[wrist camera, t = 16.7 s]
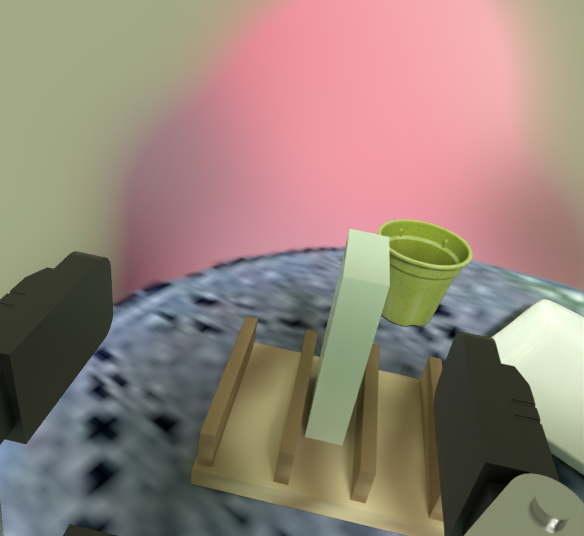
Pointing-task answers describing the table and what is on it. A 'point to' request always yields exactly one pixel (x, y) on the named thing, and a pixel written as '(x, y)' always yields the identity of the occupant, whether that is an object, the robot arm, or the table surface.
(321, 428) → the pale green block
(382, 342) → the table surface
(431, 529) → the drying rack
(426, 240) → the plant pot
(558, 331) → the salad plate
